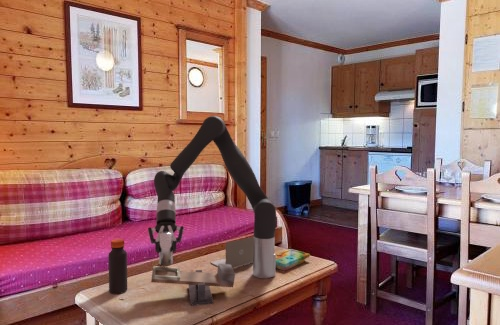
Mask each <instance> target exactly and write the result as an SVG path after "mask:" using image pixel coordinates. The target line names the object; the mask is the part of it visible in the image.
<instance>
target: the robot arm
mask: <svg viewBox="0 0 500 325" xmlns="http://www.w3.org/2000/svg"><path fill="white" fill-rule="evenodd" d="M212 142H214V144H215V146H216V147H217V149H218V150H219V152H220V156H221V157H222V161H223V163H224V166H225V168H226V170H227V172H228V174H229V175H230V176H231V178H232V180H233V181H234V182H235V183H236V185H237V186H238V188H239V189H240V190H241V191H242V192H243V194H244V195H245V196H246V198H247V200H248V201H249V204H250V207H251V208H252V210H253V213H254V216H253V217H254V224H253V237H254V244H253V263H252V275H253V277H255V278H259V279H270V278H273V277H276V269H277V268H276V255H275V254H276V253H275V243H276V242H275V241H276V240H275V239H276V238H275V237H276V235H275V234H276V231H277V230H276V228H277V225H276V224H277V223H276V222H277V209H276V206H275V205H274V203H273V202H272V201H271V200H270V199H269V197H268V196H267V195H266V194H265V192H264V191H263V189H262V188H261V186H260V184H259V182H258V179H257V177H256V174H255V172H254V170H253V168H252V166H251V165H250V164H249V161H247V158H246V157H245V156H244V153H243V152H242V151H241V150H240V148H239V146H237V144H236V143H235V141H234V140H233V138H232V136H231V133H230V132H229V130H228V127H227V126H226V123H225V121H224V120H223V119H222V118H221V117H220V116H217V115H211V116H208V117H206V118H205V119H204V120H203V122H202V124H201V126H200V128H199V129H198V130H197V132H196V134H195V135H194V136H193V138H192V139H191V140H190V142H189V143H188V144H186V146H185V147H184V148H183V149H182V150H181V151H180V152H179V153H178V155H177V156H176V157H175V158H174V159H173V160H172V162H171V163H170V164H169V166H170V169H171V171H173V174H171V173H169V172H167V171H164V170H159V171H158V172H157V173H155V175H154V177H153V185H154V190H155V193H156V195H157V202H156V203H157V206H156V223H155V226H154V227H151V226H150V227H148V230H147V231H148V236H149V241H150V244H153V245H155V246H154V248H155V253H157V254H159V233H160V232H163V231H171V232H172V233H173V254H174V253H175V252H176V251H177V243H181V242H182V237H183V234H184V229H185V228H184V226H183V225H181V226H178V225H177V224H176V221H177V220H176V219H177V218H176V214H177V212H176V200H175V199H176V198H175V197H176V196H175V193H174V192H173V191H175V190H177V189H178V187H179V185H180V183H181V180H182V178H183V176H184V175H185V173H186V172H187V171H188V170H189V169H190V167H191V166H192V165H193V164H194V162H195V161H196V160H197V159H198V158H199V156H200V154H201V153H202V151H204V149H205V148H206V147H208V145H209V144H210V143H212ZM176 231H177V233H178V235H177V238H176V235H175V232H176ZM155 232H156V233H157V235H156V238H154V234H155Z"/></svg>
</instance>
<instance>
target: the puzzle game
mask: <svg viewBox="0 0 500 325" xmlns="http://www.w3.org/2000/svg"><path fill="white" fill-rule="evenodd" d="M274 254H275V255H276V268H275V269H278V270H281V271H285V272H286V271H287V270H289V269H291V268H294V267H296V266H299V265H300V264H303V263H304V262H305V261H306V260H307V259H308V258H310V257H311V254H310V253H308V252H304V251H301V250H296V249H292V248H289V249H286V250H284V251H281V252H278V253H274Z"/></svg>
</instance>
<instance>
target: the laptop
mask: <svg viewBox="0 0 500 325" xmlns="http://www.w3.org/2000/svg"><path fill="white" fill-rule="evenodd" d="M253 244H254V236H251V237H247V238H242V239H237V240H233V241H232V240H231V241H228V242H226V243H225V258H221V259H216V260H213V261H210V264H212V265H214V266H216V267H217V268H218V264H229V265H231V266H232V268H233V269H236V268H240V267H243V265H244V266H247V265H250V263H251V264H253Z"/></svg>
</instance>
